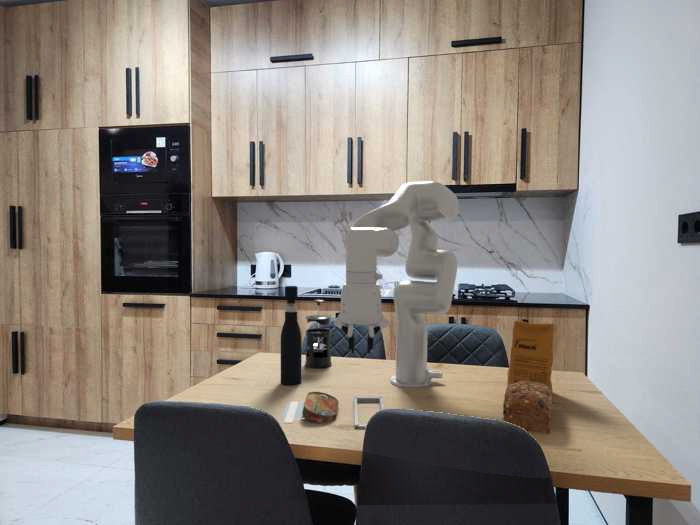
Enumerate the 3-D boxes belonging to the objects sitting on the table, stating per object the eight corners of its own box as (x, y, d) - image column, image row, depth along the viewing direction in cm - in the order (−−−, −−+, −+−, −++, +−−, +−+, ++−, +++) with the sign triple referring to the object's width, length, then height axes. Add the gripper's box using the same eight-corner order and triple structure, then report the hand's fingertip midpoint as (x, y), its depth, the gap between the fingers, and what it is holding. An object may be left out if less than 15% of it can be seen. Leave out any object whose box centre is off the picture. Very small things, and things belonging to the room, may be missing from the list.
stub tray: (382, 405, 128) (382, 397, 128) (387, 435, 109) (388, 426, 108) (353, 404, 128) (353, 396, 128) (354, 435, 109) (354, 426, 108)
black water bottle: (291, 388, 142) (291, 288, 140) (276, 383, 146) (276, 286, 144) (305, 382, 147) (306, 286, 145) (290, 378, 151) (291, 284, 149)
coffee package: (511, 389, 142) (513, 316, 141) (555, 397, 136) (558, 321, 134) (502, 399, 134) (504, 321, 133) (549, 407, 127) (552, 326, 126)
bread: (550, 446, 104) (552, 401, 104) (500, 437, 109) (501, 394, 108) (551, 416, 121) (552, 378, 121) (507, 410, 126) (508, 373, 125)
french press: (320, 369, 161) (321, 302, 160) (298, 365, 166) (298, 300, 165) (339, 361, 171) (339, 298, 170) (317, 358, 176) (317, 296, 175)
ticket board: (317, 407, 126) (317, 401, 126) (313, 428, 112) (313, 422, 112) (287, 406, 126) (287, 401, 126) (279, 428, 112) (279, 422, 112)
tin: (335, 418, 112) (301, 407, 112) (331, 431, 112) (297, 419, 112) (340, 397, 127) (310, 386, 127) (336, 408, 127) (306, 397, 127)
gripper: (393, 277, 120) (393, 348, 121) (328, 276, 121) (328, 348, 122) (395, 280, 113) (395, 356, 114) (326, 279, 113) (326, 355, 114)
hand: (360, 351), depth 118 cm, fingers open, 3 cm apart
